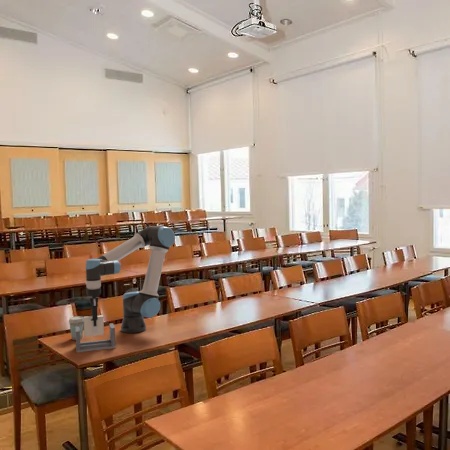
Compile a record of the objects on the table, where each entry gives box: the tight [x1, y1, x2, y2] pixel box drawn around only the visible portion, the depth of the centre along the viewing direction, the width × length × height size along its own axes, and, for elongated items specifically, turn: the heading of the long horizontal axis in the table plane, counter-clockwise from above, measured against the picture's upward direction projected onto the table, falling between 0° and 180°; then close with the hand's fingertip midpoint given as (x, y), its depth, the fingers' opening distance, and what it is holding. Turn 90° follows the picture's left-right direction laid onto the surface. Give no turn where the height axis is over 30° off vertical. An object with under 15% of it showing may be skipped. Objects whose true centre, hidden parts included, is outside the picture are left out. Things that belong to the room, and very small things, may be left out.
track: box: [75, 323, 116, 353], centre depth 260 cm, size 20×10×11 cm, turn 109°
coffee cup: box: [68, 315, 84, 341], centre depth 277 cm, size 9×8×12 cm
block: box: [83, 314, 105, 337], centre depth 259 cm, size 10×3×10 cm, turn 109°
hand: (94, 330), depth 259 cm, fingers closed on block, 3 cm apart
